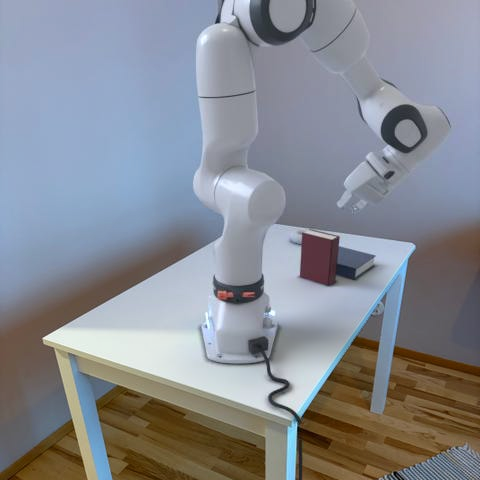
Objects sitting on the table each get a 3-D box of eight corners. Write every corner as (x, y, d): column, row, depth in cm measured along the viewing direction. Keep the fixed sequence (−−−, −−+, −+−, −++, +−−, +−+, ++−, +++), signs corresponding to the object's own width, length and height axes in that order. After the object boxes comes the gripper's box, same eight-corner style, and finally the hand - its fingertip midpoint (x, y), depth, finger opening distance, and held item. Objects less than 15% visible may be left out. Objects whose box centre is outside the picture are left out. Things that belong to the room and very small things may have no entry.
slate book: (354, 279, 138) (355, 268, 136) (303, 264, 148) (304, 254, 146) (374, 265, 147) (375, 255, 145) (325, 252, 157) (325, 242, 155)
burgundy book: (328, 285, 135) (332, 240, 128) (299, 276, 140) (302, 232, 133) (335, 281, 137) (339, 236, 130) (306, 272, 143) (309, 228, 136)
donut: (288, 236, 171) (290, 245, 162) (289, 227, 169) (290, 236, 161) (316, 236, 171) (319, 245, 162) (316, 227, 169) (319, 236, 160)
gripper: (391, 169, 123) (351, 206, 129) (368, 149, 106) (323, 193, 112) (406, 186, 121) (365, 223, 127) (385, 169, 104) (338, 212, 110)
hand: (345, 209), depth 120 cm, fingers open, 8 cm apart
